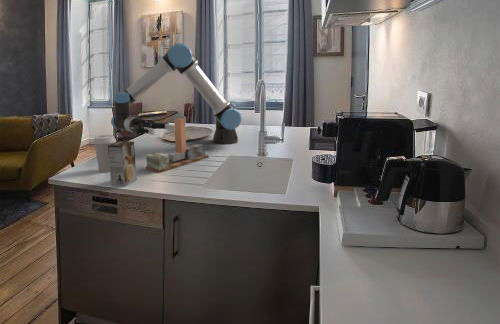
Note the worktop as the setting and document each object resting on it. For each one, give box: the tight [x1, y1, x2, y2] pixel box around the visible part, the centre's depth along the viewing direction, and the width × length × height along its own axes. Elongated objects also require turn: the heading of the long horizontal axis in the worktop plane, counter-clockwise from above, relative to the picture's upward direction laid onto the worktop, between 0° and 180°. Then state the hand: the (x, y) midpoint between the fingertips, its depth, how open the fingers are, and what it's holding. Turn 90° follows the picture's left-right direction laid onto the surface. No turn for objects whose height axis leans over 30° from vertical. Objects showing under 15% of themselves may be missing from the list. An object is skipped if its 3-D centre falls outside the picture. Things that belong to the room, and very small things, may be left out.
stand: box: [145, 143, 210, 174], centre depth 178 cm, size 33×9×7 cm, turn 146°
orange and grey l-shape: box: [167, 117, 187, 162], centre depth 179 cm, size 20×4×19 cm, turn 146°
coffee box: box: [108, 140, 138, 187], centre depth 148 cm, size 9×6×16 cm
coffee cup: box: [92, 134, 117, 173], centre depth 164 cm, size 10×10×15 cm
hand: (164, 130), depth 181 cm, fingers open, 13 cm apart
